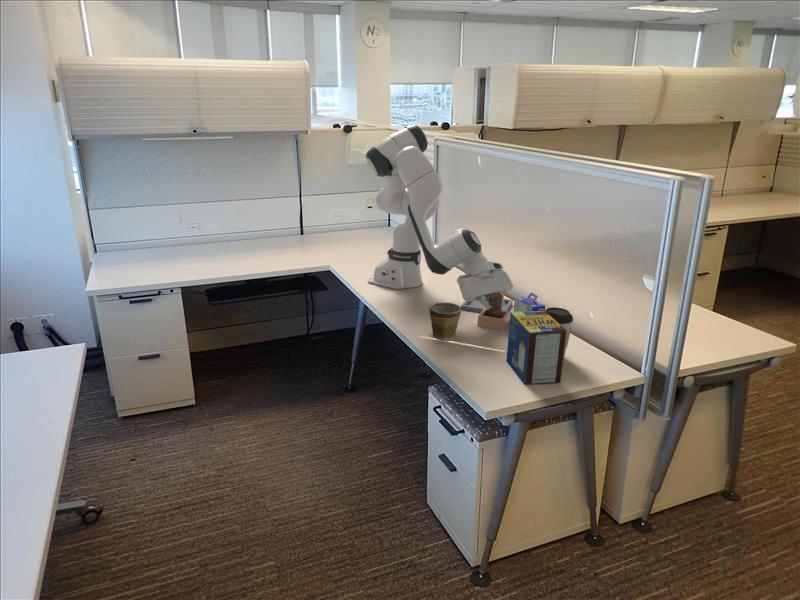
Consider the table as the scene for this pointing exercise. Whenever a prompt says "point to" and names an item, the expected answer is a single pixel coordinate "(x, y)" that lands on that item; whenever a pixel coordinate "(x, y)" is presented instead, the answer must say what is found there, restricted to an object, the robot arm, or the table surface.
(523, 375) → the protein box
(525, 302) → the ink cartridge box
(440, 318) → the ceramic cup
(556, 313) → the coffee cup
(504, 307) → the tray
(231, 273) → the table surface
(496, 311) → the canister
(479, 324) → the holder cup
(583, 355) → the table surface
